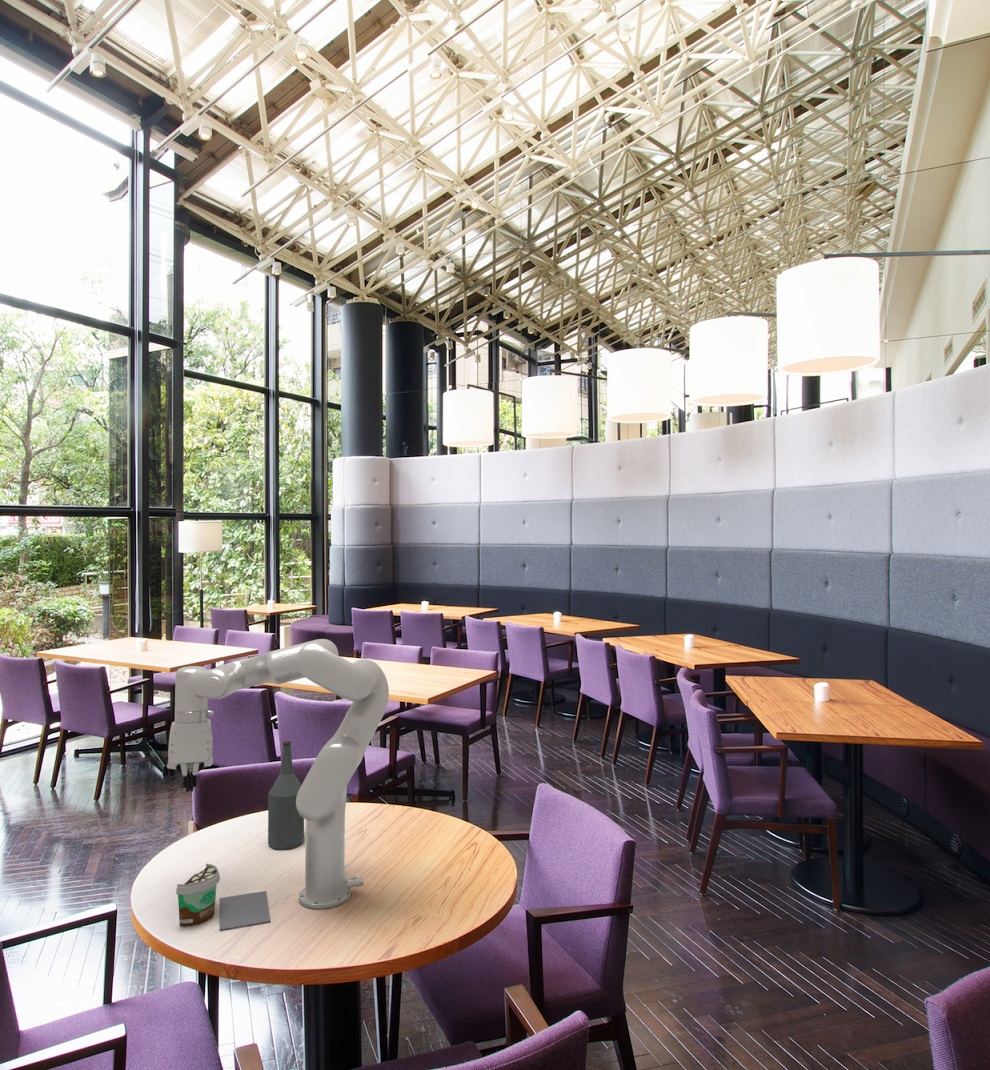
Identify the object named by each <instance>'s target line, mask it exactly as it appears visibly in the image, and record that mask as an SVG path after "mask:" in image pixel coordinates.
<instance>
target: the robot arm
mask: <svg viewBox="0 0 990 1070" xmlns="http://www.w3.org/2000/svg"><path fill="white" fill-rule="evenodd" d="M174 678H175V679H174V680H175V683H174V684H175V685H174V687H175V688H174V689H175V691H174V692H175V693H174V694H175V695H174V702H175V703H174V721H172V722H171V725H170V730H169V737H168V738H169V739H168V750H167V751H168V752H167V758H168V760H167V764H166V768H167V769H169V770H170V769H171V770H177V771H178V772H179V773H180V774H181V775H182V777H183V779H182V780H183V782H182V783H183V789H185V792H186V793H189V792H192V793H193V792H194V788H196V787H197V786H198V785H197V784H198V783H197V782H198V781H197V779H198V777H197V776H198V773H200V771H202V770H203V769H204V768H206V767H209V766H212V765H213V764H214V757H213V748H214V747H213V746H214V745H213V729H212V722H211V719H210V718H209V717H213V716H214V710H210V709H208V699H212V700H221V699H223V698H226V697H227V696H229V695H231V694H233V693H235V692H237V691H239V690H244V689H247V688H251V687H255V686H260V685H264V684H273V685H283V684H286V683H289V682H293V681H297V680H301V679H305V678H306V679H307V680H309V681H310V682H312V683H313V684H316V685H317V686H319V687H321V688H323V689H324V690H327V691H329V692H330V693H332V694H334V695H335V696H338V697H340V698H341V699H344V700H346V701H349V702H350V701H351V702H352V703H351V705H350V706H349V708H348V710H347V712H346V713H345V716H344V718H343V720H342V722H341V723H340V725H339V727H338V729H337V730H336V732H335V733H334V735H332V737H331V738H329V740H327V742H326V743H325V744H324V745H323V747H322V748H321V750H320V751H319V752H318V754H317V756H316V758H315V759H314V762H313V763H312V765H311V767H310V769H309V771H308V772H307V774H306V776H305V778H304V780H303V782H302V783H301V787H300V789H299V791H298V793H297V797H296V806H297V810H298V812H299V814H300V815H301V816H302V817H303V818H304V820H305V856H304V858H305V864H304V866H305V868H304V869H305V871H304V872H305V873H304V875H305V876H304V877H305V883H304V885H305V887H303V888H302V889H301V891H299V893H298V902H299V903H300V904H301V905H302V906H304V907H305V908H309V909H316V910H317V909H319V910H320V909H329V908H334V907H336V906H339V905H342V904H344V903H345V902H347V901H348V900H349V898H350V897H351V895H352V894H351V893H352V892H351V891H352V888H355V887H356V888H357V887H363V886H364V884H365V881H364V877H358V876H357V875H351V876H348V875H346V873H345V847H346V846H345V844H346V843H345V834H346V833H345V832H346V831H345V830H346V828H345V827H346V807H347V806H346V804H347V795H348V794H347V792H348V789H347V787H348V785H349V782H350V780H351V779H352V777H353V775H354V773H355V772H356V770H357V768H358V767H359V765H360V764H361V763H362V762H363V761H362V760H363V758H364V755H365V753H366V751H367V748H368V746H369V745H370V743H371V741H372V739H373V737H374V735H375V733H376V731H377V729H378V727H379V725H380V723H381V721H382V719H383V717H384V715H385V712H386V710H387V706H388V703H389V697H390V690H389V688H390V687H389V683H388V679H387V677H386V674H385V673H384V671H383V669H382V668H381V667H380V666H379V665H378V663H376V662H375V661H373V660H370V659H366V658H365V659H359V660H356V661H354V662H351V661H349V660H347V659H345V658H343V657H341V656H340V655H339V650H338V648H337V645H336V644H335V643H333V641H331V640H330V639H327V638H319V639H318V638H317V639H314V640H309V641H306V642H302V643H298V644H295V645H291V646H287V647H282V648H279V649H276V650H270V651H268V652H265V653H263V654H258V655H255V656H251V657H247V658H243V659H239V660H235V661H232V662H231V661H230V662H228V663H226V664H223V665H220V666H217V667H214V668H211V669H207V668H206V667H205V666H201V665H199V666H198V665H189V666H183V667H180V668H177V670H176V672H175V677H174ZM188 764H193V766H192V767H193V769H192V770H191V772H190V770H189V769H188V768H189V766H188Z"/></svg>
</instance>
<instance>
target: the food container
mask: <svg viewBox="0 0 990 1070" xmlns="http://www.w3.org/2000/svg"><path fill="white" fill-rule="evenodd" d="M220 880H221V876H220V871H219V870H218V867H217V866H215V865H214V864H211V863H205V868H204V869H202V870H201V871H200V872H197V873H195V874H193V875H192V876H191V877H190V878H189V879H188V880H187V881H185V882H184V883H181V884H179V883H177V887H176V891H175V892H176V893H175V895H177V899H178V903H177V904H178V916H179V917H178V919H179V927H182V928H183V927H194V926H199V925H201V924H204V923H206V922H208V921H210V920H211V919H212V918H213V917H214V916H215V911H216V910H215V909H216V897H217V896H216V895H217V887H218V884H219V882H220Z"/></svg>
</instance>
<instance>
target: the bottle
mask: <svg viewBox="0 0 990 1070" xmlns="http://www.w3.org/2000/svg"><path fill="white" fill-rule="evenodd" d="M291 743H292V741H291V740H283V742H282V743H281V744H282V753H281V759H280V760H281V761H280V770H279V774H278V776H277V777H276V779H275V781H274V783H273V785H272V787H271V788H270V790H269V792H268V793H267V795H268V796H267V800H268V801H267V809H268V811H267V812H268V815H267V817H268V819H267V820H268V821H267V834H268V835H267V844H268V846H269V847H270V848H272V849H273V850H276V851H277V850H278V851H282V850H283V851H284V850H291V849H295V848H297V846H298V847H299V845H300V846H301V845H302V843H303V841H304V839H305V819H304V818H303V817H302V816H301V815H300V814H299V812H298V810H297V806H296V797H297V793H298V791H299V789H300V787H301V785H302V783H301V781H300V780H299V779H298V777H297V775H296V773H294V767H293V759H292V757H293V756H292V747H291Z"/></svg>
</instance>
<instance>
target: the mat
mask: <svg viewBox="0 0 990 1070" xmlns="http://www.w3.org/2000/svg"><path fill="white" fill-rule="evenodd" d="M268 901H269V900H268V895H267V890H263V891H262V890H261V891H256V892H250V893H245V894H243V893H242V894H237V895H231V896H224V897H220V898H219V932H223V931H231V930H235V929H240V928H246V927H251V926H258V925H259V926H260V925H264V924H269V923H271V915H270V909H269V908H270V907H269V902H268Z"/></svg>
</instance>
